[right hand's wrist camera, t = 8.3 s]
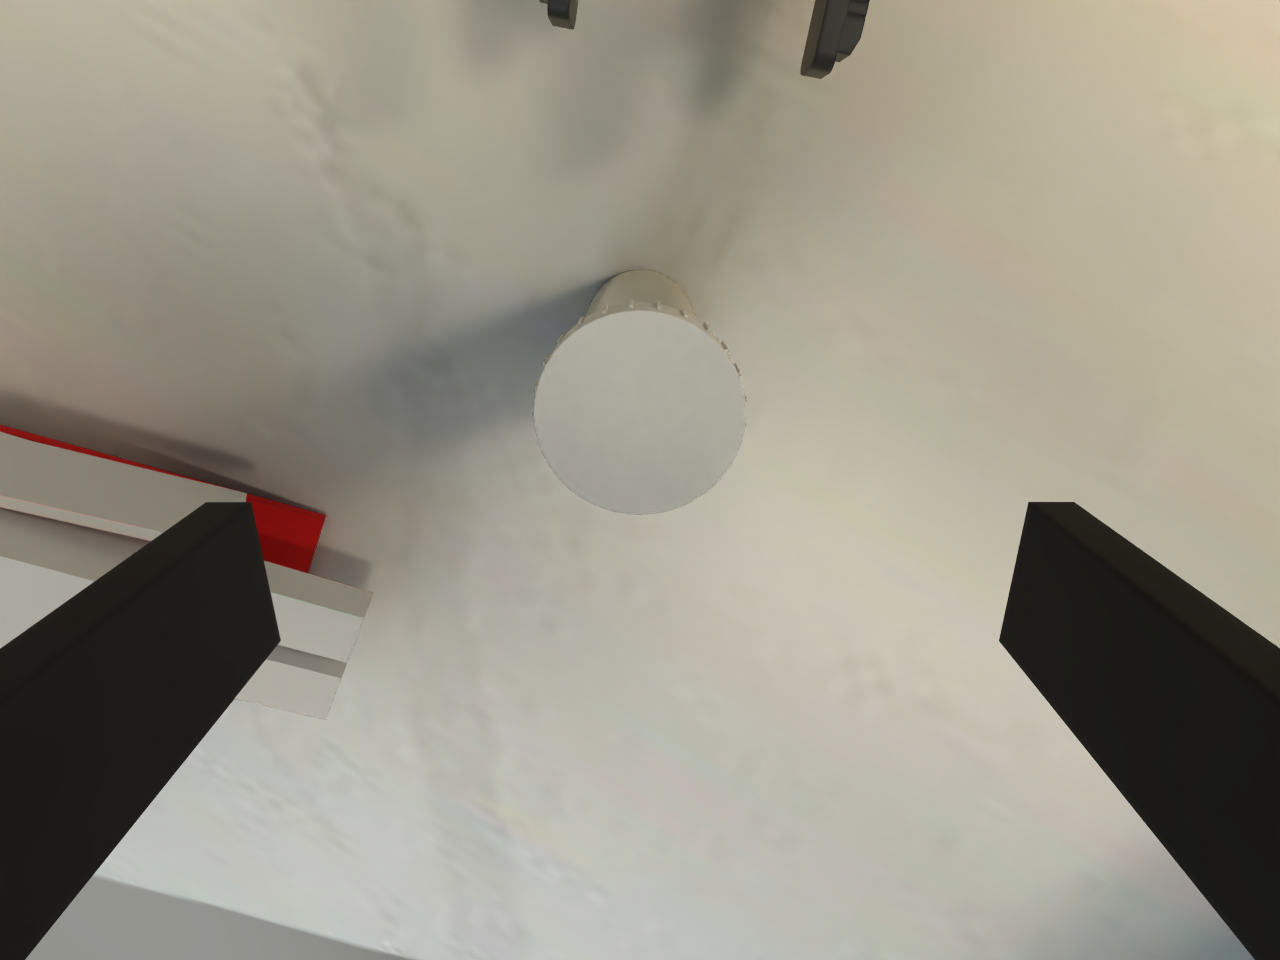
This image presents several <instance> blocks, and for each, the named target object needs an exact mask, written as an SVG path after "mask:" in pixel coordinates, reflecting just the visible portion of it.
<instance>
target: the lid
mask: <svg viewBox="0 0 1280 960" xmlns="http://www.w3.org/2000/svg"><path fill="white" fill-rule="evenodd" d="M557 343H558V345H557V346H556V348H555V349H554V351H553V353H552V354H551V355H550V354H548V356H547V357H546V359H545V361H544V362H543V364H542V366H544V369H543V371H542V374H541V376H540V378H539V380H538V382H537V384H536V386H535V388H534V391H536V392H535V399H534V412H533V417H534V425H535V432H536V436H537V439H538V443H539V446H540V448H541V451H542V453H543V455H544V457H545V459H546V461H547V463H548V464H549V466H550V468H551V469H552V470H553V472H554V473H555V474H556V476H557V477H558V478H559V479H560V480H561V481H562V482H563V483H564V484H565V485H566V486H567V487H568V488H569V489H570V490H572V491H573V492H574V493H575V494H577V495H578V496H580V497H581V498H583V499H585V500H586V501H588V502H590V503H592V504H594V505H596V506H599V507H601V508H604V509H607V510H610V511H614V512H619V513H625V514H637V515H644V514H655V513H661V512H666V511H669V510H673V509H676V508H679V507H681V506H683V505H686V504H688V503H690V502H692V501H694V500H695V499H697V498H698V497H700V496H702V495H703V494H704V493H706V492H707V491H708V490H709V489H711V488H712V487H713V486H714V485H715V484H716V483H717V482H718V481H719V480H720V479H721V478H722V476H723V475H724V474H725V472H726V471H727V470H728V468H729V467H730V465H731V464H732V462H733V460H734V458H735V457H736V455H737V452H738V450H739V447H740V445H741V442H742V438H743V434H744V429H745V425H746V423H745V421H746V403H745V401H747V398H746V396H745V394H744V390H743V387H742V384H741V380H740V377H739V376H741V373H740V371H739V369H738V367H737V365H736V363H735V364H733V362H732V360H731V358H730V357H729V355H728V352H729V350H728V348H727V346H726V344H725V343H724V341H722V342H720V341H719V340H718V339H717V337H716V336H715V335H714V334H713V333H712V332H711V329H710V327H709V325H708V324H707V323H706V322H705V323H704V324H702V323H701V322H700V321H698V320H697V319H695V318H694V317H692V316H691V315H689V314H687V311H686V309H683V308H682V310H678V309H675V308H672V307H670V306H667V305H662V304H661V301H658V300H657V302H656V303H649V302H634V299H630V302H629V303H623V304H618V305H613V306H610V307H608V305H607V304H606V305H604V306H603V309H602V310H599V311H597V312H595V313H593V314H591V315H589V316H587V317H586V318H584V316H582V317H580V319H579V321H578V323H577V324H576V325H575V326H574V327H573V328H572V329H571V330H570V331H568V332H567V333H566V335H565V334H564V333H562V335H561V336H560V338H559V339H558V341H557Z"/></svg>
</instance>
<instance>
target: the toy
mask: <svg viewBox="0 0 1280 960" xmlns="http://www.w3.org/2000/svg"><path fill="white" fill-rule="evenodd" d="M205 502H251V503H252V507H253V512H254V517H255V522H256V526H257V531H258V536H259V540H260V545H261V550H262V554H263V559H264V564H265V568H266V573H267V578H268V583H269V587H270V592H271V597H272V601H273V606H274V611H275V615H276V620H277V625H278V629H279V634H280V639H281V641H280V643H279V644H278V645H277V646H276V648H275V649H274V650H273V651H272V653H271V654H270V655H269V656H268V658H267V659H266V660H265V661H264V662H263V664H262V665H261V666H260V667H259V669H258V670H257V671H256V672H255V674H254V675H253V676H252V677H251V679H250V680H249V681H248V682H247V684H246V685H245V686H244V687H243V689H242V690H241V691H240V692H239V694H238V695H237V696H236V697H235V699H239V700H243V701H248V702H252V703H256V704H260V705H264V706H269V707H273V708H277V709H281V710H285V711H290V712H294V713H298V714H302V715H306V716H310V717H315V718H319V719H323V720H326V718H327V715H328V713H329V710H330V707H331V705H332V702H333V699H334V697H335V694H336V691H337V689H338V686H339V683H340V681H341V678H342V675H343V673H344V670H345V667H346V665H347V662H348V659H349V656H350V654H351V651H352V648H353V646H354V643H355V640H356V638H357V635H358V632H359V630H360V627H361V624H362V622H363V619H364V616H365V614H366V611H367V608H368V605H369V603H370V600H371V597H372V595H373V592H370V591H366V590H363V589H360V588H356V587H353V586H349V585H346V584H342V583H339V582H336V581H332V580H329V579H325V578H322V577H318V576H315V575H312V574H308V573H309V569H310V566H311V563H312V560H313V556H314V553H315V550H316V546H317V543H318V540H319V537H320V533H321V530H322V527H323V523H324V520H325V517H326V515H323V514H319V513H315V512H312V511H308V510H305V509H301V508H298V507H294V506H290V505H287V504H283V503H280V502H276V501H272V500H269V499H265V498H262V497H258V496H254V495H251V494H247V493H244V492H240V491H236V490H233V489H229V488H226V487H222V486H219V485H215V484H211V483H208V482H204V481H201V480H197V479H193V478H190V477H186V476H183V475H179V474H175V473H172V472H168V471H165V470H161V469H157V468H154V467H150V466H147V465H143V464H139V463H136V462H132V461H129V460H125V459H122V458H118V457H114V456H111V455H107V454H104V453H100V452H96V451H93V450H89V449H86V448H82V447H78V446H75V445H71V444H68V443H64V442H60V441H57V440H53V439H50V438H46V437H43V436H39V435H35V434H32V433H28V432H25V431H21V430H17V429H14V428H10V427H7V426H3V425H0V648H2V647H3V646H4V645H6V644H7V643H9V642H10V641H11V640H13V639H14V638H16V637H17V636H19V635H20V634H21V633H23V632H24V631H26V630H27V629H28V628H30V627H31V626H33V625H34V624H35V623H37V622H38V621H40V620H41V619H42V618H44V617H45V616H47V615H48V614H49V613H51V612H52V611H54V610H55V609H56V608H58V607H59V606H61V605H62V604H64V603H65V602H66V601H68V600H69V599H71V598H72V597H73V596H75V595H76V594H78V593H79V592H80V591H82V590H83V589H85V588H86V587H87V586H89V585H90V584H92V583H93V582H94V581H96V580H97V579H99V578H100V577H101V576H103V575H104V574H106V573H107V572H108V571H110V570H111V569H113V568H114V567H116V566H117V565H118V564H120V563H121V562H123V561H124V560H125V559H127V558H128V557H130V556H131V555H132V554H134V553H135V552H137V551H138V550H139V549H141V548H142V547H144V546H145V545H146V544H148V543H149V542H151V541H152V540H153V539H155V538H156V537H158V536H159V535H161V534H162V533H163V532H165V531H166V530H168V529H169V528H170V527H172V526H173V525H175V524H176V523H177V522H179V521H180V520H182V519H183V518H184V517H186V516H187V515H189V514H190V513H191V512H193V511H194V510H196V509H197V508H198V507H200V506H201V505H203V504H204V503H205Z"/></svg>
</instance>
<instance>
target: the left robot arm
mask: <svg viewBox="0 0 1280 960" xmlns="http://www.w3.org/2000/svg"><path fill="white" fill-rule="evenodd" d="M539 1H540V2H541V3H546V4H548V17H549V19H550V21H551V23H552V25H553V26H557V27H562V28H568V29H574V27H575V21H576V14H577V5H578V0H539ZM869 1H870V0H815V5H814V10H813V14H812V19H811V23H810V28H809V32H808V37H807V41H806V46H805V51H804V55H803V60H802V65H801V75H804V76H809V77H814V78H819V79H821V78H823V77H824V76H826V75H827V74H829V73H830V72H831V70H832V68H833V66H834V63H835V61H836V62H840V61H842V60H843V59H845V58H846V57H848V56H849V55H850V54H851V53H852V51H853V49H854V48H855V46H856V45H857V43H858V41H859V40H860V38H861V34H862V30H863V26H864V22H865V16H866V14H867V9H868V5H869Z"/></svg>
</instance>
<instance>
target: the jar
mask: <svg viewBox="0 0 1280 960" xmlns="http://www.w3.org/2000/svg"><path fill="white" fill-rule="evenodd" d="M630 299H634V302H649V303H656V302H657V300H658V301H661V304H662V305H667V306H670V307H672V308H675V309H678V310H682V308H683V309H686V311H687V314H689V315H691V316H692V317H694V318H695V319H697V317H696V315H695V312H694V310H693V308H692V306H691V303H690V301H689V299H688V297H687V295H686V294H685V292H684V291H683V290H682V289H681V287H680V286H679V285H678V284H677V283H676V282H674V281H673V280H672V279H670V278H669V277H667V276H665V275H663V274H661V273H658V272H655V271H650V270H631V271H626V272H624V273H621V274H618V275H617V276H615V277H613V278H611V279H610V280H609V281H607V282H606V283H605V284H604V285H603V286H602V287H601V288H600V289H599V291H598V292H597V293H596V295H595V297H594V298H593V300H592V302H591V304H590V307H589V309H588V311H587V313H586V315H585V317H584V318H586V317H587V316H589V315H591V314H593V313H595V312H597V311H599V310H602V309H603V306H604V305H606V304H607V305H608V307H610V306H613V305H618V304H623V303H629V302H630ZM697 320H698V319H697Z"/></svg>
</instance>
